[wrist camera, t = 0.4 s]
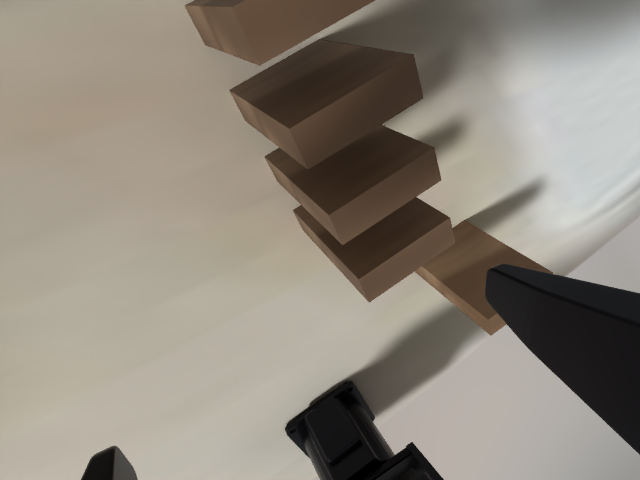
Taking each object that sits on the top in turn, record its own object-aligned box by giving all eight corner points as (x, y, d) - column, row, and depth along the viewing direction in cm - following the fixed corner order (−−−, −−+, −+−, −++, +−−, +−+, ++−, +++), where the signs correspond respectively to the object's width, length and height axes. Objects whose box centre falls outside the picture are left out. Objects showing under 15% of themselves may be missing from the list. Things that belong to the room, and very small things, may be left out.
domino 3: (352, 134, 23) (441, 180, 17) (277, 181, 22) (342, 245, 16) (343, 108, 22) (434, 147, 16) (264, 156, 21) (328, 215, 15)
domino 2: (330, 71, 21) (423, 98, 15) (245, 120, 20) (308, 169, 14) (318, 39, 20) (413, 54, 14) (229, 90, 19) (289, 129, 13)
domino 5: (467, 235, 31) (552, 289, 25) (415, 271, 31) (491, 335, 25) (464, 220, 30) (552, 272, 24) (410, 257, 30) (488, 319, 24)
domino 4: (371, 186, 25) (455, 242, 19) (303, 230, 24) (369, 302, 19) (363, 165, 24) (449, 217, 18) (292, 210, 23) (358, 279, 18)
